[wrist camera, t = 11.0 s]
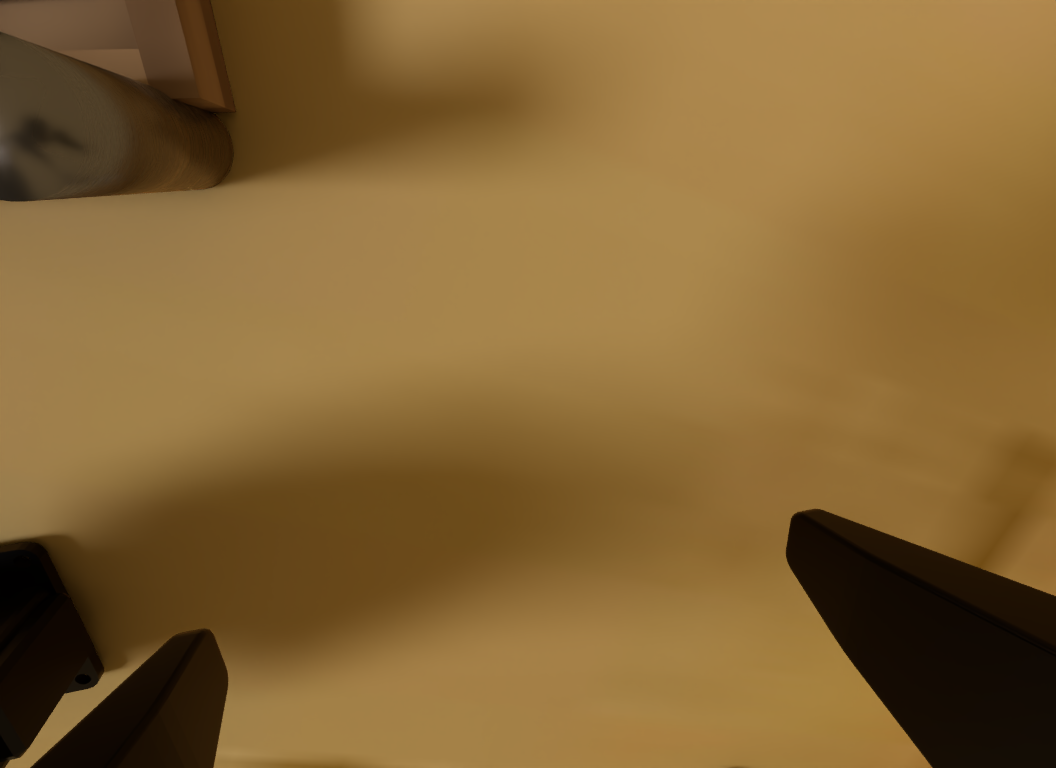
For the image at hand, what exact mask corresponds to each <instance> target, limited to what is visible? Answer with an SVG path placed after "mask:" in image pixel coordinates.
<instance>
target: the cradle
mask: <svg viewBox="0 0 1056 768" xmlns="http://www.w3.org/2000/svg"><path fill="white" fill-rule="evenodd" d="M218 112H236V110H235V106H234V101H233V97H232V93H231V89H230V84H229V80H228V76H227V71H226V67H225V63H224V59H223V54H222V50H221V46H220V42H219V37H218V33H217V29H216V25H215V20H214V16H213V12H212V7H211V3H210V0H0V200H5V201H36V200H51V199H66V198H81V197H96V196H111V195H126V194H141V193H156V192H171V191H186V190H200V189H206V188H210V187H212V186H215V185H216V184H218V183H220V182H221V181H222V180H223V179H224V178H225V177H226V176H227V174H228V172H229V171H230V168H231V166H232V162H233V145H232V141H231V138H230V135H229V133H228V131H227V129H226V128H225V126H224V124H223V123H222V122H221V120H220V119H219V118H218V117H217V116H216V115H215V114H214V113H218Z"/></svg>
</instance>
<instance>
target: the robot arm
mask: <svg viewBox="0 0 1056 768" xmlns="http://www.w3.org/2000/svg"><path fill="white" fill-rule="evenodd" d="M22 556H26V557H29V558H30V559H31V560H27V559H24V558H23V557H22ZM786 558H787V562H788V564H789V566H790V568H791V570H792V572H793V573H794V575H795V576H796V578H797V579H798V581H799V583H800V584H801V586H802V587H803V589H804V590H805V592H806V594H807V595H808V597H809V598H810V600H811V601H812V603H813V605H814V606H815V608H816V609H817V611H818V612H819V614H820V616H821V617H822V619H823V620H824V622H825V623H826V625H827V627H828V628H829V630H830V631H831V633H832V634H833V636H834V638H835V639H836V641H837V642H838V643H839V645H840V646H841V648H842V649H843V651H844V652H845V654H846V655H847V656H848V658H849V659H850V660H851V662H852V663H853V665H854V666H855V667H856V669H857V670H858V671H859V672H860V674H861V675H862V676H863V678H864V679H865V680H866V682H867V683H868V684H869V685H870V687H871V688H872V689H873V691H874V692H875V693H876V695H877V696H878V697H879V698H880V700H881V701H882V702H883V704H884V705H885V706H886V708H887V709H888V710H889V712H890V713H891V714H892V715H893V717H894V718H895V719H896V721H897V722H898V723H899V725H900V726H901V727H902V728H903V730H904V731H905V732H906V734H907V735H908V736H909V738H910V739H911V740H912V742H913V743H914V744H915V745H916V747H917V748H918V749H919V751H920V752H921V753H922V755H923V756H924V757H925V758H926V760H927V761H928V762H929V764H930V765H931V766H932V768H1056V596H1054V595H1051V594H1048V593H1046V592H1043V591H1040V590H1038V589H1035V588H1032V587H1029V586H1027V585H1024V584H1021V583H1019V582H1016V581H1013V580H1010V579H1008V578H1005V577H1002V576H1000V575H997V574H994V573H991V572H989V571H986V570H983V569H981V568H978V567H975V566H973V565H970V564H967V563H964V562H962V561H959V560H956V559H954V558H951V557H948V556H945V555H943V554H940V553H937V552H935V551H932V550H929V549H927V548H924V547H921V546H918V545H916V544H913V543H910V542H908V541H905V540H902V539H899V538H897V537H894V536H891V535H889V534H886V533H883V532H880V531H878V530H875V529H872V528H870V527H867V526H864V525H862V524H859V523H856V522H853V521H851V520H848V519H845V518H843V517H840V516H837V515H834V514H832V513H829V512H826V511H824V510H821V509H811V510H806V511H801V512H797V513H795V514H794V515H793V516H792V518H791V522H790V528H789V534H788V541H787V547H786ZM103 672H104V667H103V665H102V663H101V661H100V659H99V657H98V655H97V653H96V651H95V649H94V645H93V643H92V641H91V639H90V637H89V635H88V633H87V631H86V629H85V627H84V625H83V623H82V621H81V619H80V617H79V615H78V613H77V611H76V609H75V607H74V604H73V602H72V600H71V598H70V597H69V596H68V594H67V592H66V590H65V588H64V586H63V584H62V582H61V580H60V578H59V575H58V573H57V571H56V569H55V567H54V565H53V563H52V561H51V559H50V557H49V555H48V553H47V551H46V550H45V549H44V547H42V546H40V545H39V544H36V543H32V542H23V543H17V544H11V545H5V546H0V768H5V767H6V765H7V764H8V762H9V761H10V760H12V759H16V758H19V757H21V756H22V755H23V754H24V753H25V752H26V751H27V749H28V748H29V747H30V745H31V744H32V742H33V741H34V739H35V738H36V736H37V735H38V733H39V731H40V730H41V728H42V727H43V725H44V724H45V722H46V721H47V719H48V718H49V716H50V715H51V713H52V712H53V710H54V708H55V707H56V705H57V704H58V702H59V701H60V699H61V698H62V696H63V695H64V694H65V693H70V692H74V691H79V690H84V689H88V688H91V687H94V686H95V685H96V684H97V683H98V681H99V680H100V678H101V676H102V675H103ZM85 674H86V675H85ZM227 690H228V672H227V668H226V665H225V663H224V660H223V658H222V655H221V652H220V650H219V647H218V644H217V642H216V639H215V636H214V635H213V633H212V632H211V631H210V630H209V629H198V630H193V631H188V632H183V633H179V634H176V635H175V636H173V637H172V638H171V639H169V640H168V641H167V642H166V643H165V644H164V645H163V646H162V647H161V648H160V649H158V650H157V651H156V652H155V653H154V654H153V655H152V656H151V657H150V658H149V659H148V660H146V661H145V662H144V663H143V664H142V665H141V666H140V667H139V668H138V669H137V670H136V671H135V672H133V673H132V674H131V675H130V676H129V677H128V678H127V679H126V680H125V681H124V682H123V683H122V684H120V685H119V686H118V687H117V688H116V689H115V690H114V691H113V692H112V693H111V694H110V695H109V696H107V697H106V698H105V699H104V700H103V701H102V702H101V703H100V704H99V705H98V706H97V707H96V708H94V709H93V710H92V711H91V712H90V713H89V714H88V715H87V716H86V717H85V718H84V719H83V720H81V721H80V722H79V723H78V724H77V725H76V726H75V727H74V728H73V729H72V730H71V731H69V732H68V733H67V734H66V735H65V736H64V737H63V738H62V739H61V740H60V741H59V742H58V743H56V744H55V745H54V746H53V747H52V748H51V749H50V750H49V751H48V752H47V753H46V754H45V755H43V756H42V757H41V758H40V759H39V760H38V761H37V762H36V763H35V764H34V765H33V766H32V767H30V768H213V767H214V762H215V756H216V751H217V745H218V740H219V734H220V728H221V723H222V717H223V712H224V706H225V701H226V695H227Z"/></svg>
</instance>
